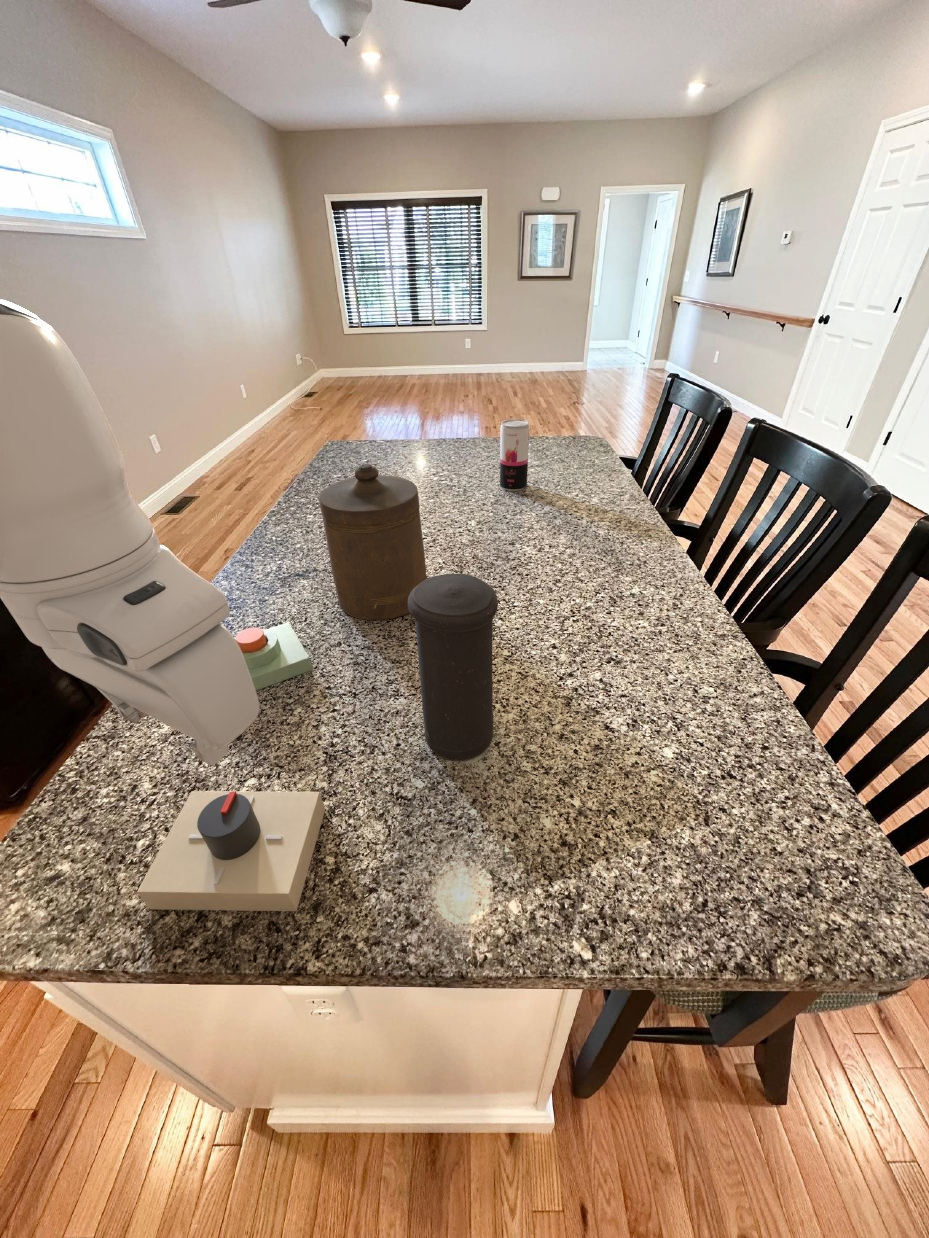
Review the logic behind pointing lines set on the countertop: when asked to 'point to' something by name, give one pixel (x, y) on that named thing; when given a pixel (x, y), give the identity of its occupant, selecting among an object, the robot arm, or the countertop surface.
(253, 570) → the countertop surface
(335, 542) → the wooden container
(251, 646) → the stop button
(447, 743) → the container
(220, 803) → the timer knob
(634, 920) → the countertop surface
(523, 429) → the beverage can
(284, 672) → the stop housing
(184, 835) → the panel
